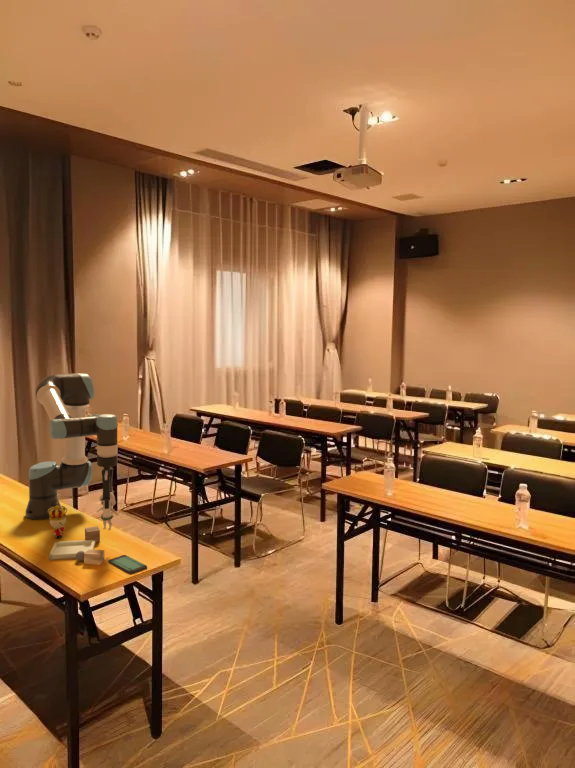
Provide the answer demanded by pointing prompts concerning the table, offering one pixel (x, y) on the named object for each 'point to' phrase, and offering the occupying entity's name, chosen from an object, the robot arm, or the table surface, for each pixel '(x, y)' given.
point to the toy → (57, 519)
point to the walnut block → (92, 534)
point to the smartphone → (127, 564)
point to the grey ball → (80, 556)
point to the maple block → (94, 556)
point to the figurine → (108, 518)
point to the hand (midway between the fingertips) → (107, 513)
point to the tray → (70, 548)
